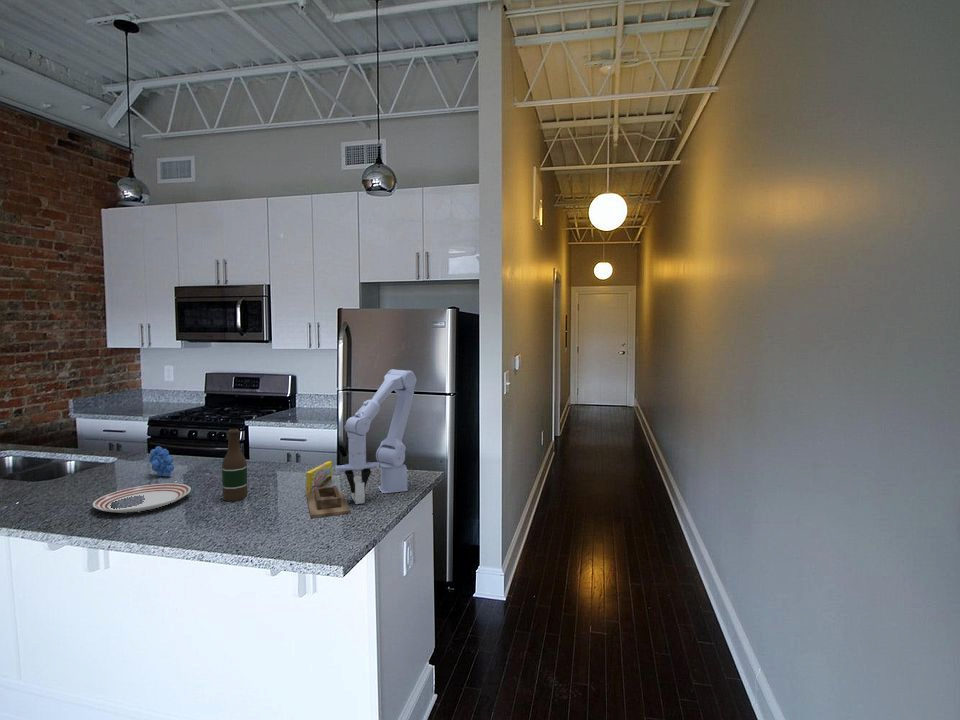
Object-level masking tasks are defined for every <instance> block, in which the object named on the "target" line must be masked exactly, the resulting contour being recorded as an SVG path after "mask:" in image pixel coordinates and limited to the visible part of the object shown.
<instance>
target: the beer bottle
mask: <svg viewBox="0 0 960 720" xmlns="http://www.w3.org/2000/svg"><path fill="white" fill-rule="evenodd" d="M227 434H228V438H227V440H228V441H227V452H226V454H225V456H224V457H223V460H222V462H221V463H222V464H221V477H222V479H221V480H222V481H221V482H222V499H223V500H224V499H225V500H226V501H225V500H224V501H225V502H238V500H239V501H242V500H245V499H246V498H247V497H248V465H247V459H246V457H245V455H244V454H243V453H242V451H241V444H240V430H239V429H238V428H230V429H228V430H227Z"/></svg>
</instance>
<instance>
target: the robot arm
mask: <svg viewBox="0 0 960 720" xmlns="http://www.w3.org/2000/svg"><path fill="white" fill-rule="evenodd" d="M383 379H384V381H383V382H382V383H381V385H380V386H379V388H378V389H377V391H376V392H375V394H374V395H373V396H372V398H371V399H367V400H366V401H365V400H364V401H363V403H362V405H361V407H360V408H359V409H358V410H357V411H356V412H355V414H354V416H351V417H349V418H348V419H347V420H346V422H345V424H344V430H345V432H346V435H347V438H348V463H347V464H346V463H345V464H342V465H336V466H334V471H335V472H334V473H335V474H340V473H344V474H345V476H346V478H347V481H348V483H349V488H350V492H351V494H352V493H354V477H355V475H354V472H357V471H361V474H360V475H361V478H362V480H363V481H364V492H365V491H366V486H367V483H368V481H369V479H370V478H369V477H370V476H371V474H372V470H374V469H376V470H379V469H380V485H378V486H377V488H378V490H379V492H380V491H381V492H380V493H381V494H383V493H384V494H392V493H398V492H407V491H408V490H409V489H408V468H407V465H406V464H404V463H405V460H406V450H407V447H406V445H405V444H404V443H403V441H402V440H403V438H404V435H405V430H406V427H407V424H408V423H407V422H408V418H409V414H410V410H411V406H412V403H413V399H414V394H415V387H416V384H417V380H418V379H417V377H416V375H415V373H414V372H413V370H403V369H395V368H392V369H390V370H388V371H387V373H386V374H385V375H384V377H383ZM393 391H394V392H395V393H396V396H397V400H396V404H395V407H394V411H393V415H392V419H391V423H390V426H389V428H388V429H389V430H388V433H387V437H386V438H384V439H383V440H381V442H380V445H379V447H378V448H377V450H376V452H375V459H376V461H374V462H373V461H367V443H366V442H367V435H366V434H367V433H368V432H369V431H370V427H371V424H372V421H373V420H374V419H375V417H376V416H377V414H378V413H379V412H380V410H381V407H380V405H381V404H382V403H384V401H385V399H387V397H388V396H390V394H391V393H392V392H393Z"/></svg>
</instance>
